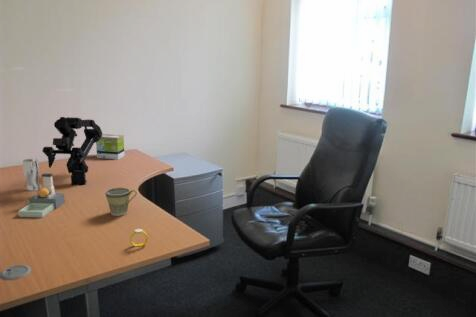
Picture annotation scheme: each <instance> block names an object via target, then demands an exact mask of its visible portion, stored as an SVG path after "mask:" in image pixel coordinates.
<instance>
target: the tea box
mask: <svg viewBox="0 0 476 317" xmlns="http://www.w3.org/2000/svg"><path fill="white" fill-rule="evenodd" d="M124 137H125V136H124V135H123V134H113V133H112V134H108V133H102V137H101V139H100V140H99V141H97V142H95V145H96V158H97V159H106V160H107V159H109V160H116V161H117V160H120V159H122V158H123V157H125V141H124V140H125V138H124Z"/></svg>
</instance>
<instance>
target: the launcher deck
mask: <svg viewBox="0 0 476 317" xmlns="http://www.w3.org/2000/svg"><path fill="white" fill-rule="evenodd" d="M65 198H66V197H65V193H63V192H56V191H55V192H53V193H52V194H50V195H48V196H47V197H44V198H43V197H41V196H40V195H39V192H37V193H35V194H34V195H31V197H29V199H28V202H29V204H30V203H54V210H58V208H60V207H61V206H63V205H64V204H65V203H66V199H65Z"/></svg>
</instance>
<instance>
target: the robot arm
mask: <svg viewBox="0 0 476 317" xmlns="http://www.w3.org/2000/svg"><path fill="white" fill-rule="evenodd" d="M53 125H54V127H55V129H56V130H57V132H58V133H59V134H60V135H61V138H60V137H59V138H57V137H53V139H52V145H53V146H55V148H56V149H55V148H54V147H53V146H43V147H42V150H41V151H42V153H44V155H45V156H46V157H47V161H48V168H49V169H51V168H52V166H53V164H54V162H55V160H56V156H57V154H58V155H70V157H69V158H68V159H67V161H66V168H67V172H68V174H71V175H70V180H71V181H70V183H71V185H72V186H79V185H80V186H83V185H86V184H87V182H88V181H87V178H86V173H88V171H89V166H88V165H87V164H86V161H85V160H86V158H87V157H88V155H89V153H90V151H91V149H92V147H93V146H94V144H96V142H97V141H99V140H100V139H101V137H102V134H103V132H102V129H101V127H100V126H99V125H98V124H97V123H96V122H95V120H94V119H82V118H80V117H69V116H67V117H65V116H60V117H59V118H58V119H57V120H56V121H55V122H54V124H53ZM83 127H84V129H83V133H84V136H85V139H84V141H83V143H82V144H81V146H80V147H77V146H76V147H74V146H75V144H74V141H75V138H76V137H77V136H78V133H77V132H76V130H79V129H81V128H83Z"/></svg>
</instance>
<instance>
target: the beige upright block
mask: <svg viewBox="0 0 476 317" xmlns="http://www.w3.org/2000/svg"><path fill="white" fill-rule="evenodd" d="M41 177H42V187H41V189H43V188H45V189H47V190H48V191H49V195H50V194H52V193H53V192H55V193H56V191H55V186H54V180H53V173H42V174H41Z"/></svg>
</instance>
